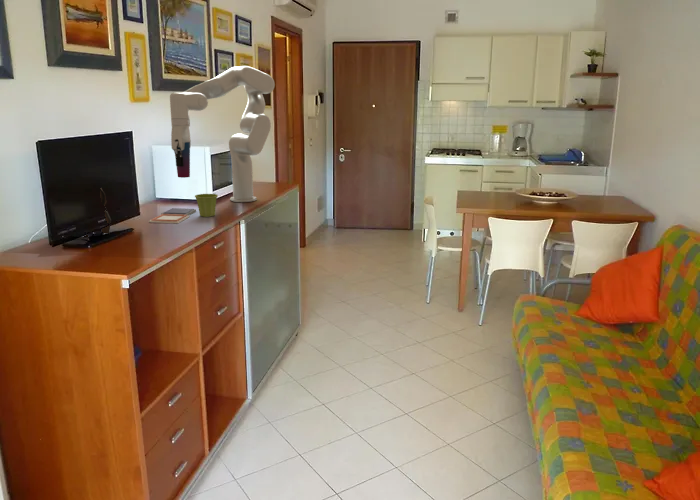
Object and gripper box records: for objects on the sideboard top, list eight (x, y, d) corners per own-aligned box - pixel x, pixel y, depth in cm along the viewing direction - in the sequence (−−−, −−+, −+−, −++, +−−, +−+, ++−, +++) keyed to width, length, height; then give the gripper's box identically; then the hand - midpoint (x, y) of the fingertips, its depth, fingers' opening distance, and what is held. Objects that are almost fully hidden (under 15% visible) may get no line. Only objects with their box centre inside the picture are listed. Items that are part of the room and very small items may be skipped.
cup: (194, 176, 249) (192, 141, 245) (188, 178, 242) (186, 142, 238) (179, 175, 250) (177, 141, 246) (173, 177, 243) (170, 142, 239)
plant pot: (196, 213, 242) (194, 193, 239) (218, 213, 244) (217, 193, 242) (195, 218, 233) (194, 197, 231) (219, 217, 235) (218, 196, 233)
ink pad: (172, 210, 248) (171, 207, 247) (196, 211, 247) (196, 208, 246) (161, 215, 237) (161, 212, 237) (186, 216, 236) (186, 213, 236)
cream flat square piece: (161, 216, 237) (161, 213, 236) (189, 217, 235) (189, 214, 235) (149, 222, 225) (148, 219, 225) (178, 223, 224) (177, 220, 224)
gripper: (180, 121, 249) (183, 163, 253) (163, 123, 232) (166, 167, 237) (196, 122, 248) (199, 163, 252) (180, 123, 231) (183, 168, 236)
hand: (183, 165), depth 245 cm, fingers closed on cup, 6 cm apart
